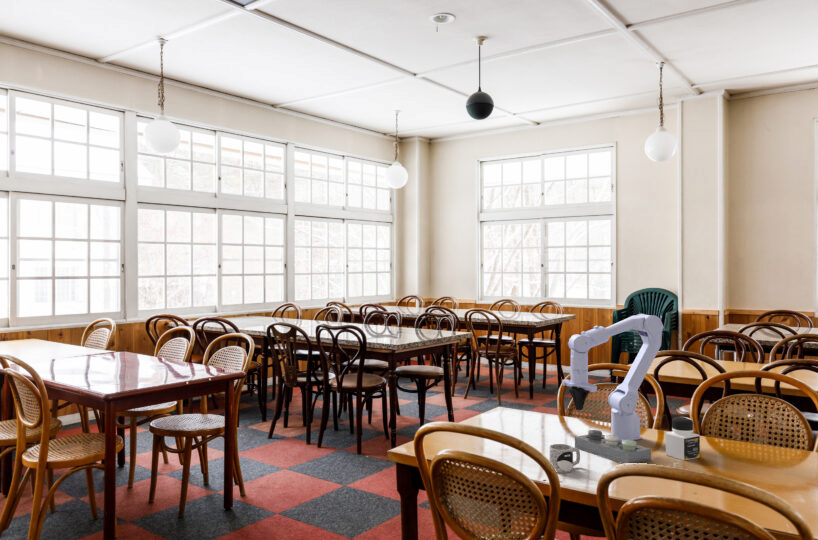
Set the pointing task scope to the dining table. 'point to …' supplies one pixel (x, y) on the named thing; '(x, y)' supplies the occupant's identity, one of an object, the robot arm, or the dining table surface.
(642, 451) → the key console
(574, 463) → the mug
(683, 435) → the medicine bottle
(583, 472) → the dining table surface
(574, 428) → the dining table surface
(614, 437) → the ivory key
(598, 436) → the grey rounded knob
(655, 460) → the dining table surface
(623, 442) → the sage key
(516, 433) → the dining table surface
